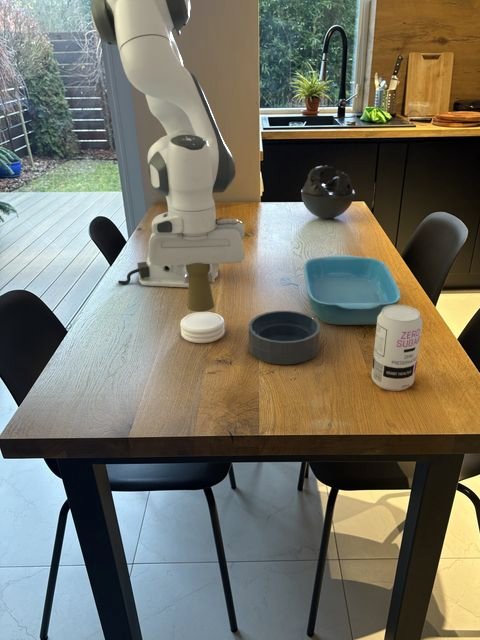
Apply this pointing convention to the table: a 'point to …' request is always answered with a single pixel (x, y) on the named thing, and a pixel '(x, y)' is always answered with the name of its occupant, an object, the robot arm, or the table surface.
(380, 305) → the casserole dish
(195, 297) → the olive pawn
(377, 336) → the supplement can
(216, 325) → the coaster
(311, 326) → the bowl
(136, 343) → the table surface
